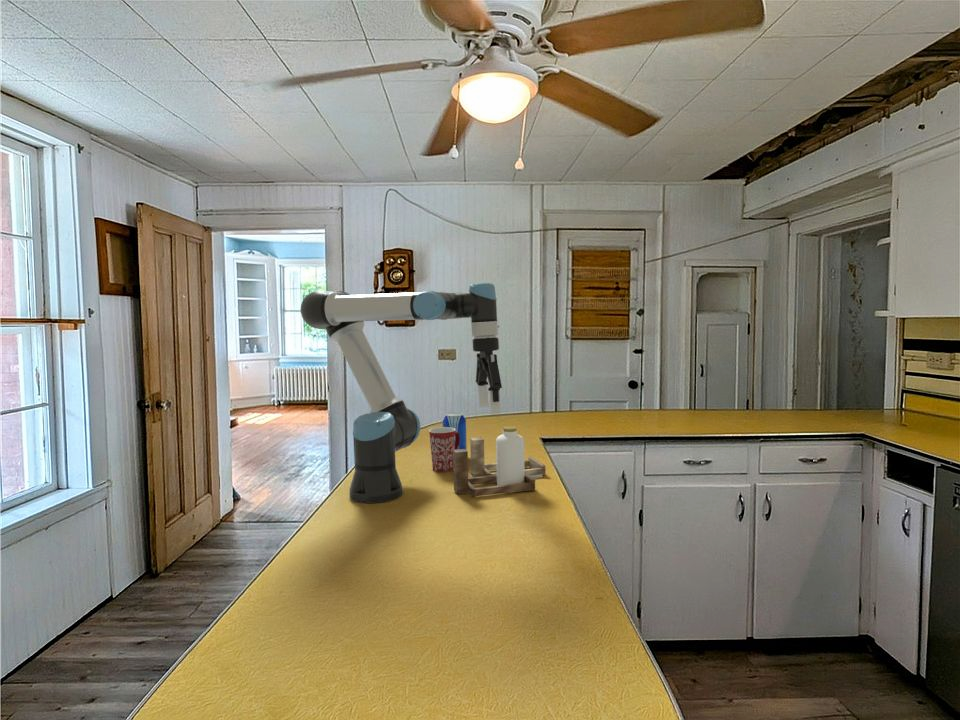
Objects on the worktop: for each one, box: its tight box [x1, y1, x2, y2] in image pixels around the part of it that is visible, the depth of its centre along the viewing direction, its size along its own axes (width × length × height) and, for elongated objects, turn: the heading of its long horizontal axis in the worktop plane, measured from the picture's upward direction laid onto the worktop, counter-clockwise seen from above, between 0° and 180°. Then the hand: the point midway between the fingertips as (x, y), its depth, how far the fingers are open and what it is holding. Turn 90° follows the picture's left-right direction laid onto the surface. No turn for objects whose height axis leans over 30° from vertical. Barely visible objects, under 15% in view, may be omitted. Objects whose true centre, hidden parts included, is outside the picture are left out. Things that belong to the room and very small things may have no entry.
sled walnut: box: [453, 449, 536, 498], centre depth 168 cm, size 22×12×12 cm, turn 106°
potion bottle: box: [495, 426, 526, 486], centre depth 169 cm, size 8×8×18 cm
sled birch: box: [469, 437, 547, 477], centre depth 183 cm, size 22×12×12 cm, turn 106°
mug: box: [428, 426, 460, 473], centre depth 192 cm, size 13×9×14 cm
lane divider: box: [530, 474, 544, 479], centre depth 177 cm, size 16×1×1 cm, turn 106°
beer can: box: [442, 412, 468, 451], centre depth 206 cm, size 8×8×16 cm
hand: (489, 410), depth 165 cm, fingers open, 13 cm apart
